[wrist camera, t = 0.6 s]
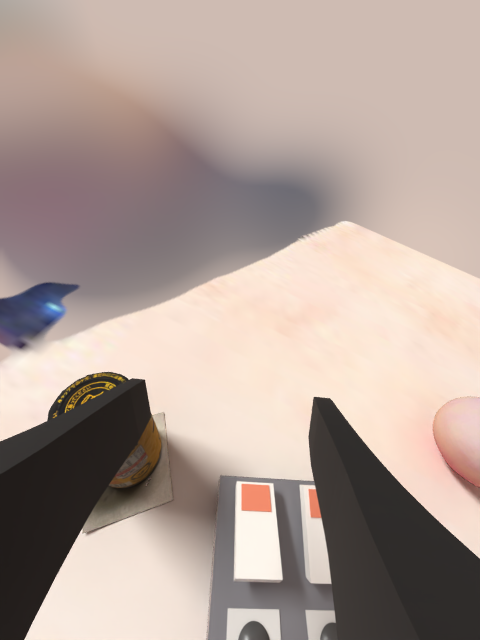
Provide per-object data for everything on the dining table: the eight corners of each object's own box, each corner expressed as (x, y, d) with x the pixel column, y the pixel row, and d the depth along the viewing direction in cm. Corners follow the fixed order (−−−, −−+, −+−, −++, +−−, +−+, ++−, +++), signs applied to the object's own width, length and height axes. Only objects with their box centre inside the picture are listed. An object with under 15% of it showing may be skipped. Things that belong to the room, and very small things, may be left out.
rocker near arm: (279, 582, 16) (283, 579, 15) (233, 581, 16) (235, 578, 15) (270, 488, 20) (273, 483, 20) (235, 486, 20) (236, 480, 20)
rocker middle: (347, 578, 17) (354, 585, 16) (305, 577, 17) (311, 583, 16) (334, 486, 20) (340, 487, 19) (299, 484, 20) (303, 485, 19)
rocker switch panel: (564, 708, 16) (613, 731, 14) (200, 710, 14) (200, 736, 12) (456, 494, 24) (478, 490, 22) (218, 480, 23) (220, 475, 21)
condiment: (164, 412, 27) (145, 353, 18) (173, 500, 21) (153, 474, 13) (93, 431, 24) (34, 373, 16) (83, 533, 19) (-13, 530, 10)
